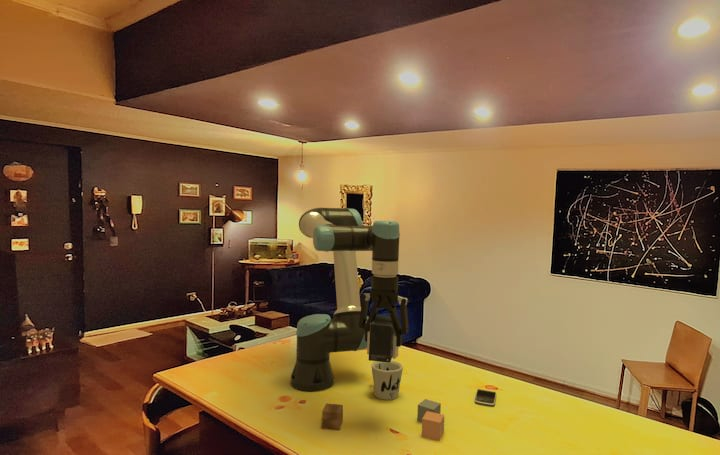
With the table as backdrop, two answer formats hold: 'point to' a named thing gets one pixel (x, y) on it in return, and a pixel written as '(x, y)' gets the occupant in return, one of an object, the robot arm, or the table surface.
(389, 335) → the small box
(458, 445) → the table surface
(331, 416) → the walnut cube
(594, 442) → the table surface
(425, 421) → the terracotta cube
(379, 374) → the mug
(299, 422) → the table surface
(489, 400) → the cell phone
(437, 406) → the slate cube
